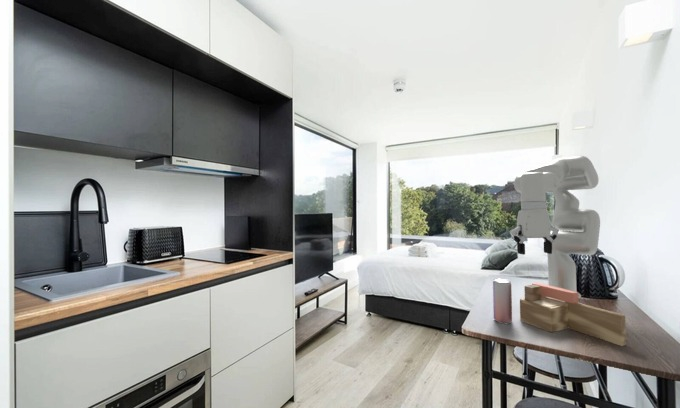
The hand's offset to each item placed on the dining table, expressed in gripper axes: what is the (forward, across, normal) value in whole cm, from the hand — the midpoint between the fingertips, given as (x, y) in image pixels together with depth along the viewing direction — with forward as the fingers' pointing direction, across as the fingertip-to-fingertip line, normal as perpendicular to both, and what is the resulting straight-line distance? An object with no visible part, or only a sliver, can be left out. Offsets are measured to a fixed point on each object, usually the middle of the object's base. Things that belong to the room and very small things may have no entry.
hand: (534, 253), depth 104 cm
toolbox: (+25, -6, +7) cm, 27 cm away
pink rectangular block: (+16, -7, -1) cm, 18 cm away
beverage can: (+25, +11, -2) cm, 28 cm away
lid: (+18, -4, 0) cm, 19 cm away
